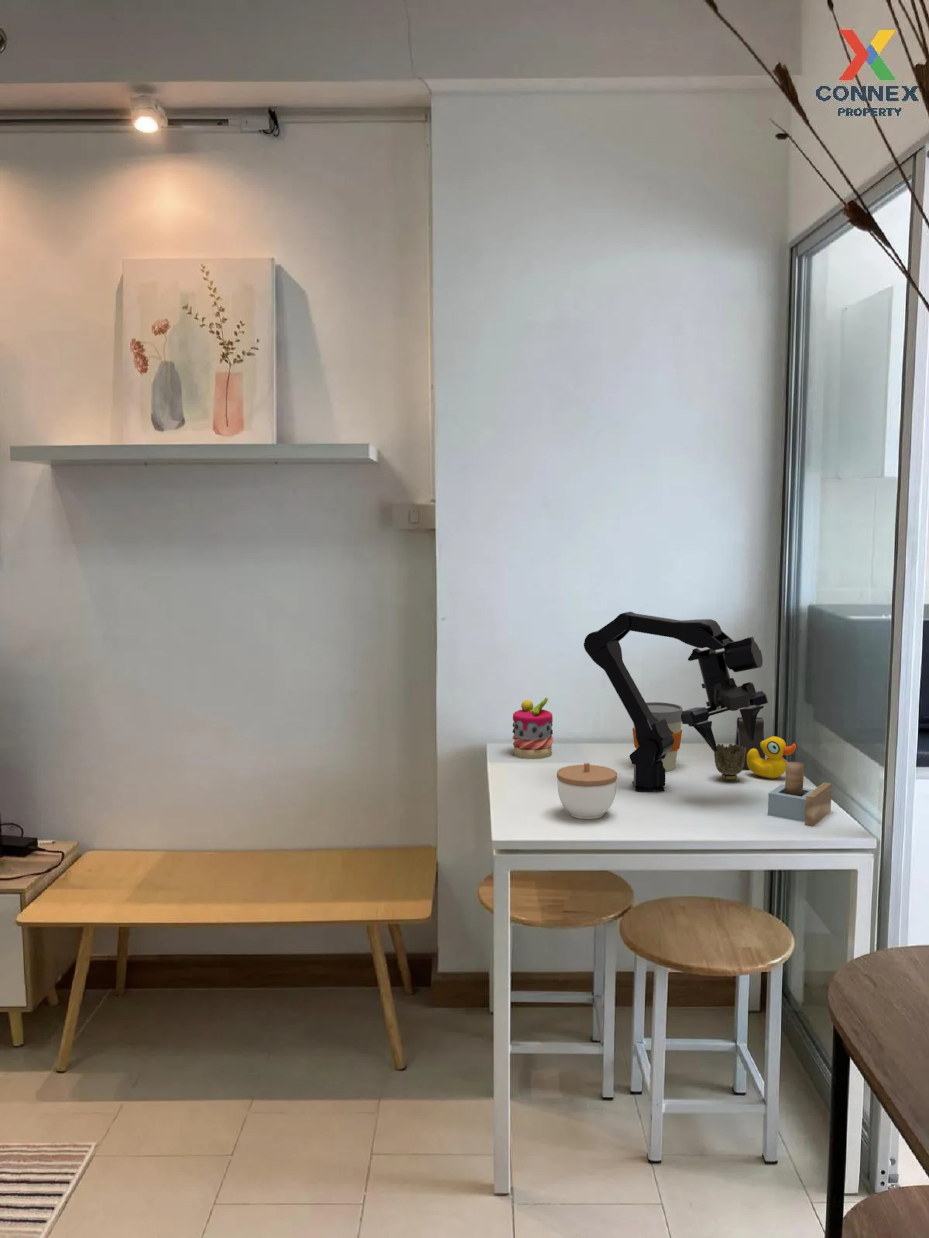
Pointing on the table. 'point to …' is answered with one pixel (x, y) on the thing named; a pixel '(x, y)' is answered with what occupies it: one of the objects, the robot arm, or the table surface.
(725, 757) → the cup
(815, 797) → the backstop board
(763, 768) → the duckling
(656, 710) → the reusable coffee cup
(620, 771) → the table surface
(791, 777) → the dowel
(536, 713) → the cake
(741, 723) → the phone stand
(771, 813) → the socket block
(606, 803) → the lidded bowl
